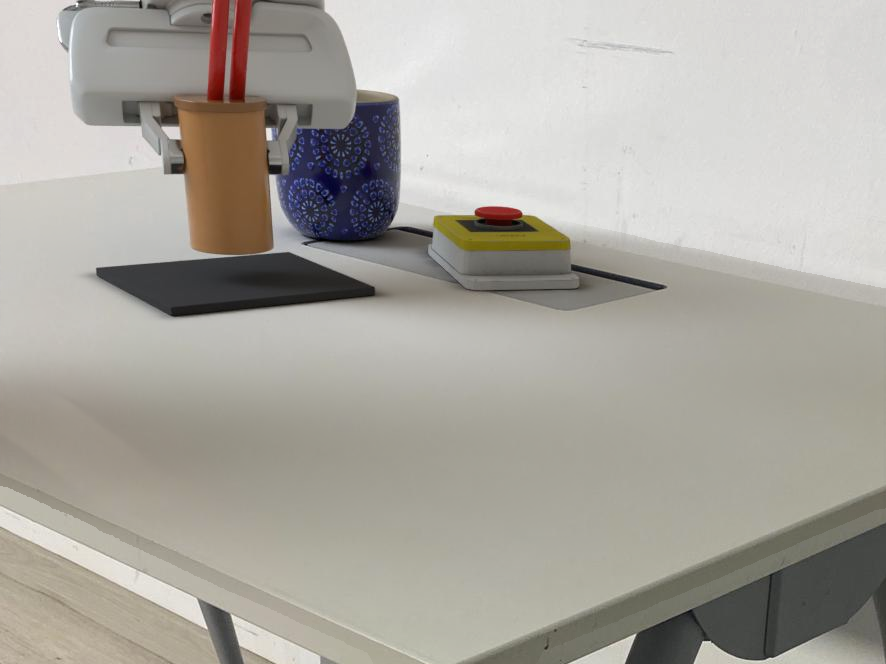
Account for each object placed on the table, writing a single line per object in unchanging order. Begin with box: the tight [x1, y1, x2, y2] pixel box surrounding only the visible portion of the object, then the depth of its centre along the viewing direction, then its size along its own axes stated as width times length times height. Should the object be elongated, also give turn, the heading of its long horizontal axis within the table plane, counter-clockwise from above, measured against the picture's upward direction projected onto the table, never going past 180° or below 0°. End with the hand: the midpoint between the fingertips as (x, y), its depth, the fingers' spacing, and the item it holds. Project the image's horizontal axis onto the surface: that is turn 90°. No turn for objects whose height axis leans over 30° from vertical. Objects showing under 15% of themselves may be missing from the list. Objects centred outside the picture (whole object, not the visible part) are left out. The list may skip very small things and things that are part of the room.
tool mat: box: [95, 251, 376, 317], centre depth 107 cm, size 16×14×1 cm
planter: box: [270, 88, 402, 242], centre depth 124 cm, size 11×11×11 cm
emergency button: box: [427, 205, 580, 291], centre depth 116 cm, size 9×4×15 cm
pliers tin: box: [174, 0, 275, 256], centre depth 101 cm, size 6×7×17 cm
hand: (227, 169), depth 103 cm, fingers closed on pliers tin, 6 cm apart
